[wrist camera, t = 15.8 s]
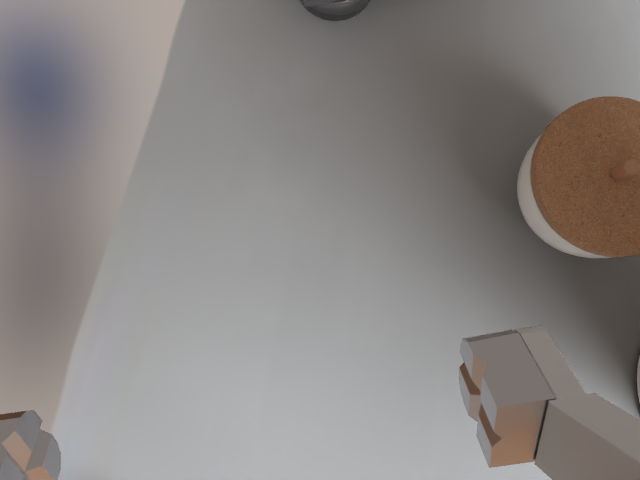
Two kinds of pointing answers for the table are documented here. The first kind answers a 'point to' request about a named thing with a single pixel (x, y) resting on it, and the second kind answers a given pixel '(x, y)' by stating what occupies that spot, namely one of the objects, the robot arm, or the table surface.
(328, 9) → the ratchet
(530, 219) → the lidded jar
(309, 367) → the table surface
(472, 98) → the table surface
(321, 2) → the grey metal block
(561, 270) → the table surface
